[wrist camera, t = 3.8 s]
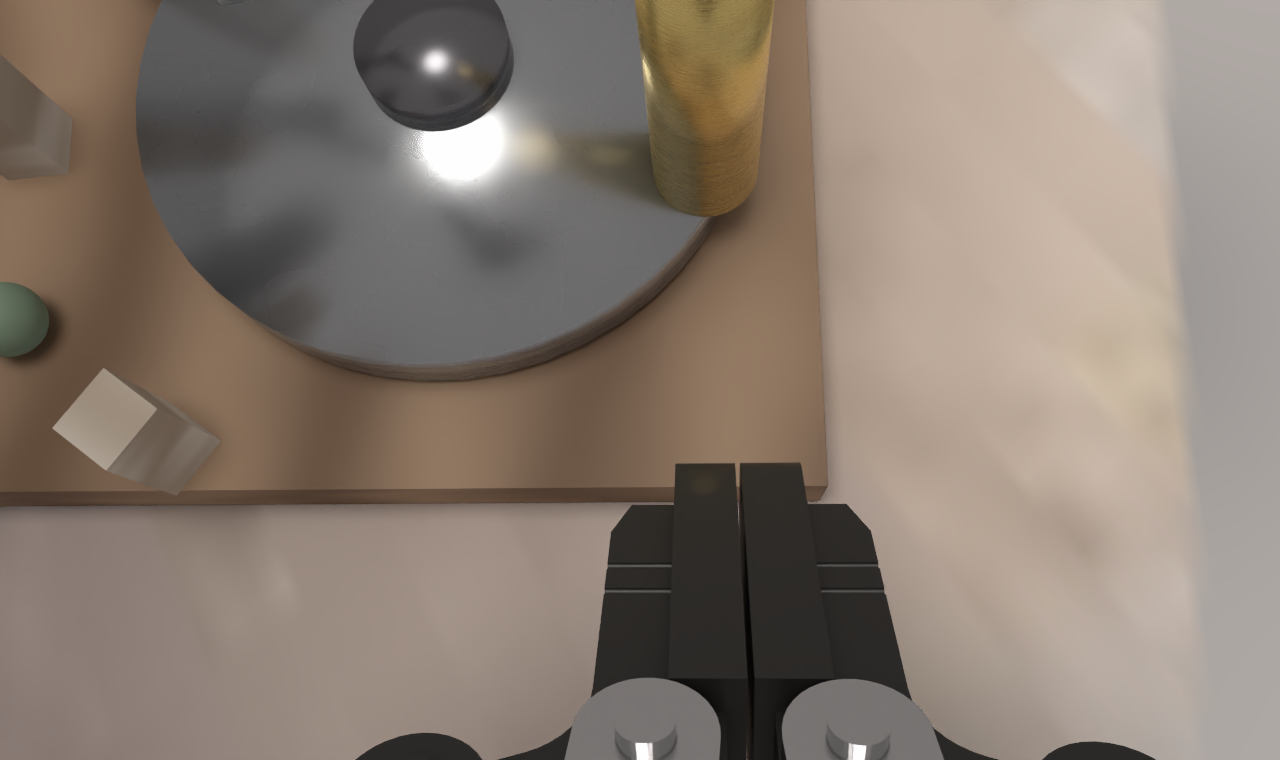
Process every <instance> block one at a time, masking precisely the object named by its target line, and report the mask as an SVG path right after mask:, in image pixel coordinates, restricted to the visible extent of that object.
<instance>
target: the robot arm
mask: <svg viewBox="0 0 1280 760" xmlns="http://www.w3.org/2000/svg"><path fill="white" fill-rule="evenodd" d="M746 746H747V760H997V759H993V758H990V757H987V756H984V755H981V754H977V753H974V752H972V751H970V750H968V749H965V748H963V747H961V746H959V745H957V744H955V743H954V742H952V741H950V740H949V739H947V738H946V737H944V736H943V735H942V734H940V733H939V732H938V731H936V730H935V729H934V728H933V727H932V725H931V723H930V721H929V720H928V718H927V717H926V715H925V714H924V713H923V711H922V710H921V709H920V708H919V707H918V706H917V705H916V704H915V703H914V702H913V701H912V699H911V696H910V693H909V690H908V687H907V682H906V678H905V674H904V670H903V665H902V661H901V657H900V653H899V648H898V644H897V640H896V636H895V632H894V627H893V623H892V619H891V615H890V610H889V606H888V602H887V598H886V594H884V585H883V581H882V577H881V572H880V568H878V560H877V555H876V551H875V547H874V543H873V538H872V534H871V531H870V530H869V529H868V527H867V526H866V525H865V524H864V523H863V522H862V521H861V520H860V519H859V517H858V516H857V515H856V514H855V513H854V512H853V511H852V510H851V509H850V507H849V506H848V505H847V504H807V497H806V491H805V485H804V478H803V472H802V466H801V463H800V462H792V463H740V475H739V522H738V504H737V486H736V469H735V463H677V464H675V488H674V505H632V506H631V507H630V508H629V510H628V511H627V512H626V514H625V515H624V516H623V517H622V519H621V520H620V521H619V523H618V524H617V525H616V527H615V528H614V529H613V530H612V532H611V539H610V547H609V556H608V569H607V573H606V581H605V594H604V598H603V607H602V615H601V624H600V632H599V641H598V649H597V658H596V666H595V675H594V683H593V690H592V694H591V698H590V699H589V700H588V701H587V702H586V703H585V704H584V705H583V707H582V708H581V709H580V711H579V712H578V714H577V716H576V717H575V720H574V723H573V726H572V727H571V728H570V729H568V730H567V731H566V732H565V733H564V734H562V735H561V736H559V737H558V738H556V739H555V740H553V741H551V742H550V743H548V744H545V745H543V746H541V747H539V748H537V749H534V750H531V751H528V752H525V753H521V754H517V755H514V756H510V757H506V758H502V759H499V760H746ZM356 760H482V759H481V758H480V756H479V755H478V753H477V752H476V751H474V750H473V749H472V748H471V747H470V746H469V745H467V744H466V743H464V742H462V741H461V740H458V739H456V738H453V737H451V736H447V735H442V734H436V733H417V734H409V735H405V736H400V737H397V738H394V739H391V740H388V741H385V742H383V743H381V744H379V745H377V746H375V747H373V748H372V749H370V750H369V751H367V752H365V753H364V754H362V755H361V756H360V757H358V758H357V759H356ZM1043 760H1155V759H1154V758H1152V757H1150V756H1148V755H1145V754H1143V753H1141V752H1139V751H1136V750H1133V749H1130V748H1127V747H1125V746H1120V745H1116V744H1111V743H1104V742H1079V743H1073V744H1068V745H1066V746H1063V747H1060V748H1058V749H1056V750H1054V751H1053V752H1051V753H1049V754H1048V755H1047V756H1046V757H1045V758H1044V759H1043Z"/></svg>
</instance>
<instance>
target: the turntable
mask: <svg viewBox="0 0 1280 760" xmlns="http://www.w3.org/2000/svg"><path fill="white" fill-rule="evenodd" d="M161 1H162V0H0V506H79V505H235V504H391V503H547V502H674V488H675V464H677V463H735V469H736V486H737V501H739V475H740V463H792V462H800V463H801V466H802V472H803V478H804V485H805V491H806V497H807V501H819V500H820V498H821V496H822V495H823V493H824V491H825V490H826V488H827V486H828V480H827V458H826V436H825V415H824V393H823V372H822V350H821V328H820V307H819V285H818V263H817V242H816V220H815V198H814V177H813V155H812V133H811V112H810V90H809V69H808V47H807V25H806V4H805V0H774V10H773V21H772V31H771V41H770V52H769V62H768V72H767V83H766V93H765V104H764V114H763V124H762V135H761V145H760V155H759V166H758V176H757V180H756V183H755V186H754V188H753V190H752V192H751V194H750V195H749V196H748V197H747V199H746V200H745V201H744V202H743V203H742V204H740V205H739V206H738V207H737V208H735V209H733V210H731V211H729V212H727V213H725V214H721V215H719V216H718V218H717V220H716V221H715V223H714V225H713V226H712V228H711V230H710V232H709V233H708V235H707V237H706V239H705V240H704V241H703V243H702V244H701V245H700V247H699V248H698V249H697V250H696V252H695V253H694V254H693V256H692V257H691V258H690V260H689V261H688V262H687V263H686V265H685V266H684V267H683V269H682V270H681V271H680V272H679V273H678V274H677V275H676V276H675V277H674V278H673V279H672V280H671V281H670V282H669V283H668V284H667V285H666V286H665V287H664V288H663V289H662V290H661V291H660V292H659V293H658V294H657V295H656V296H655V297H654V298H653V299H652V300H650V301H649V302H648V303H646V304H645V305H644V306H642V307H641V308H640V309H639V310H637V311H636V312H635V313H633V314H632V315H631V316H630V317H628V318H627V319H626V320H624V321H623V322H622V323H620V324H619V325H617V326H615V327H614V328H612V329H610V330H609V331H607V332H605V333H603V334H602V335H600V336H598V337H597V338H595V339H593V340H592V341H590V342H588V343H586V344H585V345H582V346H580V347H578V348H575V349H573V350H571V351H569V352H566V353H564V354H562V355H559V356H557V357H555V358H552V359H550V360H548V361H545V362H541V363H538V364H535V365H531V366H528V367H524V368H521V369H518V370H514V371H511V372H507V373H502V374H496V375H490V376H484V377H477V378H471V379H465V380H436V381H419V380H408V379H398V378H387V377H380V376H376V375H372V374H367V373H363V372H359V371H354V370H350V369H345V368H342V367H340V366H337V365H334V364H332V363H329V362H327V361H324V360H321V359H319V358H316V357H313V356H311V355H308V354H306V353H304V352H302V351H301V350H299V349H297V348H295V347H293V346H292V345H290V344H288V343H286V342H284V341H282V340H281V339H279V338H277V337H275V336H274V335H272V334H271V333H270V332H268V331H267V330H266V329H264V328H263V327H262V326H260V325H259V324H258V323H256V322H255V321H254V320H252V319H251V318H250V317H248V316H247V315H246V314H244V313H243V312H242V311H241V310H240V309H238V308H237V307H236V306H235V305H233V304H232V303H231V302H230V301H228V300H227V299H226V298H225V297H223V296H222V295H221V294H220V293H218V292H217V291H216V290H215V289H214V288H213V287H212V286H211V285H210V284H209V283H208V282H207V281H206V280H205V279H204V278H203V277H202V276H201V275H200V274H199V272H198V271H197V270H196V269H195V268H194V267H193V266H192V265H191V264H190V263H189V261H188V260H187V259H186V257H185V256H184V254H183V253H182V252H181V250H180V249H179V247H178V246H177V245H176V243H175V242H174V241H173V239H172V238H171V236H170V235H169V233H168V231H167V229H166V227H165V225H164V223H163V221H162V219H161V217H160V215H159V213H158V211H157V209H156V207H155V205H154V203H153V201H152V198H151V195H150V192H149V189H148V185H147V182H146V179H145V176H144V173H143V170H142V165H141V159H140V153H139V147H138V141H137V135H136V93H137V85H138V77H139V70H140V62H141V59H142V55H143V52H144V48H145V44H146V41H147V37H148V33H149V30H150V27H151V24H152V22H153V20H154V17H155V15H156V13H157V10H158V8H159V6H160V3H161Z"/></svg>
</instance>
